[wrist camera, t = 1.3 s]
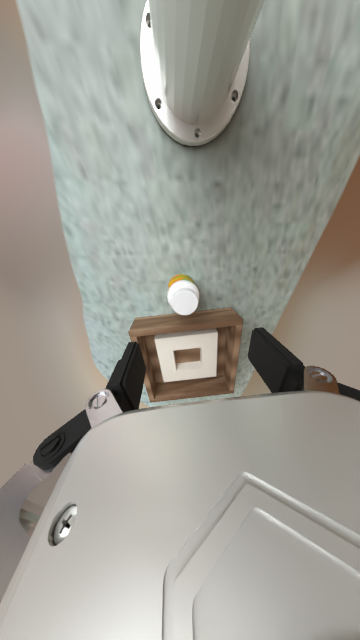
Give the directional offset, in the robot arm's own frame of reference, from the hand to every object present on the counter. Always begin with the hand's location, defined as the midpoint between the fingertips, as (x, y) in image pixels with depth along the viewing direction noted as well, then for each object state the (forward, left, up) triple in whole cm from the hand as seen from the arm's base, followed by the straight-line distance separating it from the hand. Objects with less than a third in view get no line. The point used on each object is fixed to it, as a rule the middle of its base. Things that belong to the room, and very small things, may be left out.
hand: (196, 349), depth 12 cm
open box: (+17, 0, -20) cm, 26 cm away
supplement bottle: (0, 0, -20) cm, 20 cm away
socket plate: (+17, 0, -20) cm, 26 cm away
